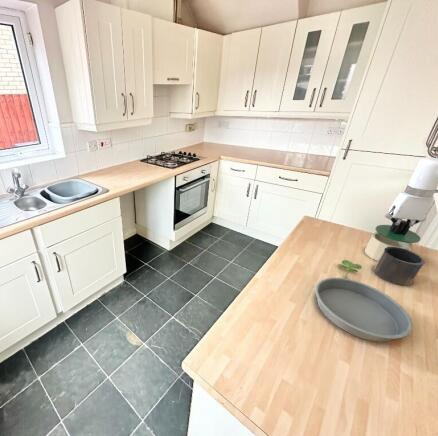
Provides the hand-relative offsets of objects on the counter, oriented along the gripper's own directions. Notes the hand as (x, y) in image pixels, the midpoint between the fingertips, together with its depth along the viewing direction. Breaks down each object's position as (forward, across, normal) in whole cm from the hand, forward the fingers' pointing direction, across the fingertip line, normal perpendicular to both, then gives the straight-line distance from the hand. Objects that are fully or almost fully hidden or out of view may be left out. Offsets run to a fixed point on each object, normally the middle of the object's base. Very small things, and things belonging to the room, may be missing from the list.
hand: (397, 232), depth 100 cm
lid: (+1, 0, 0) cm, 1 cm away
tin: (+12, +1, 0) cm, 12 cm away
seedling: (+12, +21, +17) cm, 29 cm away
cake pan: (+12, +25, +39) cm, 48 cm away
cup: (+12, +4, +14) cm, 19 cm away
